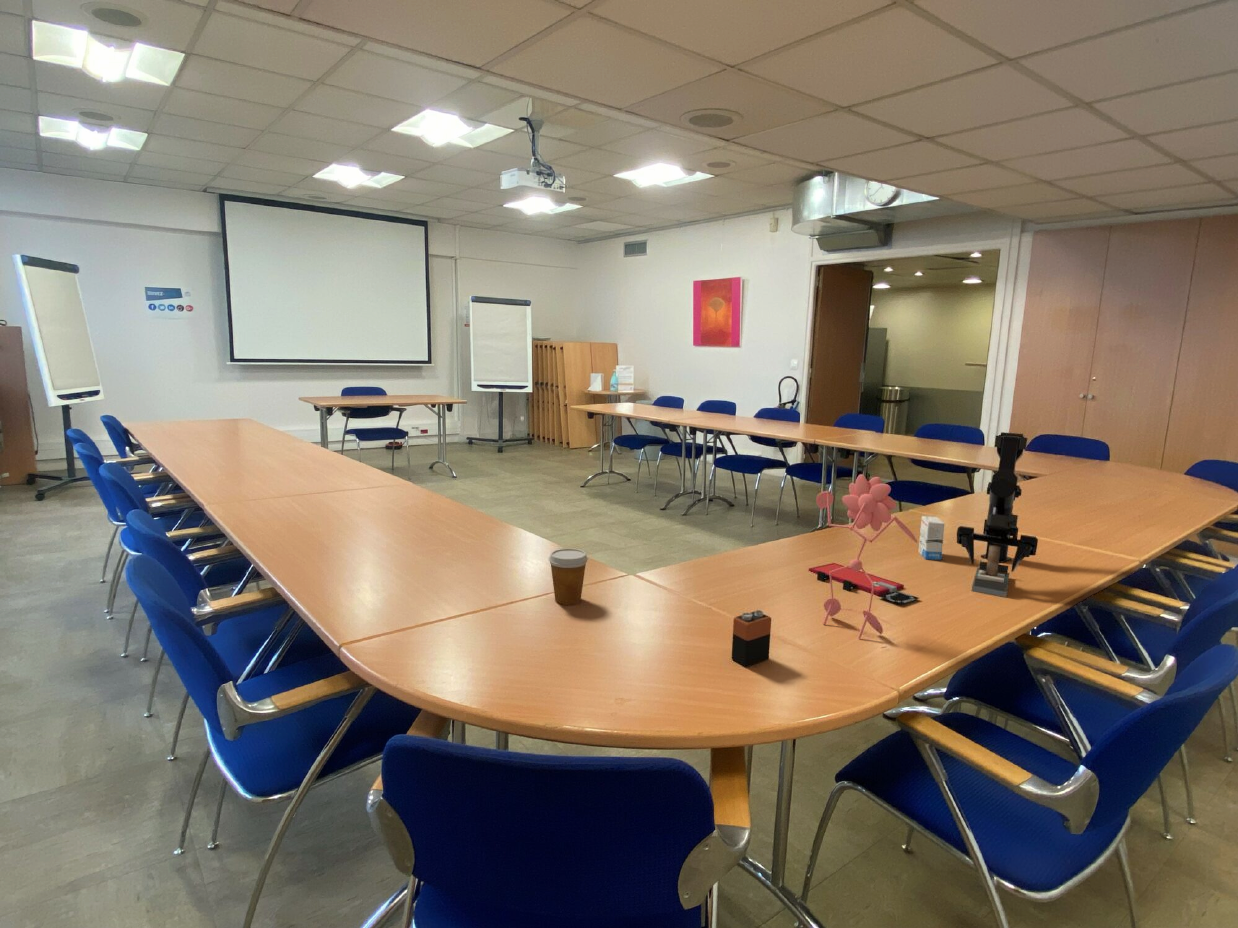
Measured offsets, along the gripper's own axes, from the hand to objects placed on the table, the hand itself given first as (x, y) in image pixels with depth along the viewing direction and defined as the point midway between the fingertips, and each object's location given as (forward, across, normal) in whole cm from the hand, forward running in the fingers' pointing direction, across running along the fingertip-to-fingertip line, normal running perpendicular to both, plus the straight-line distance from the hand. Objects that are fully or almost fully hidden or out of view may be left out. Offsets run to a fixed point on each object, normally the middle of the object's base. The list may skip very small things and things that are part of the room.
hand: (992, 567), depth 172 cm
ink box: (-13, -18, +23) cm, 31 cm away
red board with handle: (+15, -29, -5) cm, 33 cm away
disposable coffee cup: (+54, -87, -44) cm, 112 cm away
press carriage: (+3, 0, +4) cm, 5 cm away
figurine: (+35, -24, -25) cm, 49 cm away
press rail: (0, 0, +10) cm, 10 cm away
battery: (+57, -38, -47) cm, 83 cm away
